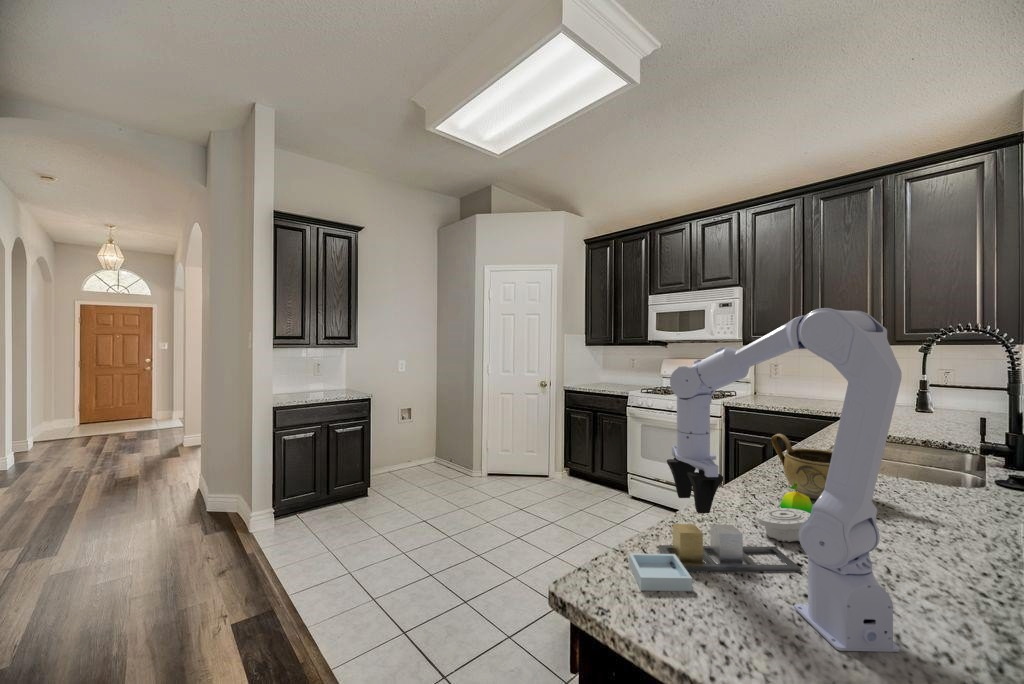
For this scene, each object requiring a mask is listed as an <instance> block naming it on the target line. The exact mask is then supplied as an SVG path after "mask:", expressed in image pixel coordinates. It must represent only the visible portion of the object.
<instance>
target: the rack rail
mask: <svg viewBox="0 0 1024 684" xmlns="http://www.w3.org/2000/svg"><path fill="white" fill-rule="evenodd" d="M658 552H659V554H673V544H669V545H667V544H663V545H662V544H658ZM747 554H773V555H774V556H775V555H776V556H775V557H777V559H779V560H780V559H781V560H782V562H783V563H784V564H757V563H756V562H755V561H754V560H753V559H752V558H751V557H749V555H747ZM781 560H780V561H781ZM704 561H705V562H706V563H705V562H704ZM703 562H704V563H703V564H693V563H682V565H683V566H684V567H685V569H686V570H687V572H688V573H702V572H701V571H705V573H735V572H736V573H737V572H738V573H745V572H747V573H749V572H750V573H751V572H752V573H758V572H760V573H764V571H801V572H802V568H801V567H800V566H799V565H798V564H797V563H795V562H794V561H793V560H792V559H791V558H789V557H788V556H787V555H786V554H784V553H783V552H782V551H780V550H779V549H778V548H777V547H776V546H747V545H746V546H743V562H744V564H717V563H716V561H715V560H714V559H713V558H712V557H711V556H710V545H703ZM785 563H786V564H787V565H786V564H785ZM670 565H671V566H672V568H676V566H675V564H674V563H673V562H670ZM697 571H698V572H697ZM706 571H707V572H706ZM709 571H710V572H709Z"/></svg>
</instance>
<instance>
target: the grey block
mask: <svg viewBox="0 0 1024 684" xmlns="http://www.w3.org/2000/svg"><path fill="white" fill-rule="evenodd" d="M709 529H710V534H709V535H710V536H709V537H710V539H709V540H710V542H709V543H710V544H709V546H710V553H709V556H710V557H711V558H712V559H713V560H714V561H715V563H716V562H717V563H718V564H743V542H744V540H743V537H744V536H743V533H742V532H741V531H740V530H739V529H738V528H736V527H735V525H733V524H721V523H720V524H714V523H713V524H710V528H709ZM717 563H716V564H717Z"/></svg>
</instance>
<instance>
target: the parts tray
mask: <svg viewBox="0 0 1024 684" xmlns="http://www.w3.org/2000/svg"><path fill="white" fill-rule="evenodd" d="M670 562H673V563H674V564H675V566H676V568H672V566H671V565H670ZM628 565H629V569H630V570H631V572H632V575H633V577H634V579H635V581H636V583H637V585H638V588H639V589H640V591H641V592H642V591H644V592H645V591H651V592H653V591H654V592H692V591H693V577H692V576H691V575H690V572H687V570H686V569H685V567H684V566H683V565H682V563H681V562H680V560H679V559H678V558H677V556H676V555H675V554H673V553H670V554H661V553H628Z"/></svg>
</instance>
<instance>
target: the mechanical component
mask: <svg viewBox="0 0 1024 684" xmlns="http://www.w3.org/2000/svg"><path fill="white" fill-rule="evenodd" d="M755 515H756V522H758V524H759V525H762V526H764V527H765V532H766V533H765V534H766V535H767V536H768V537H769V538H770V539H775V540H777V541H778V542H780V541H781V542H783V543H784V542H787V543H790V542H800V541H799V529H800V526H801V525H802V523H803V522H805V521H806V520H807V519H808V518H809V516H810V513H808V512H806V511H802V510H798V509H789V508H781V507H780V508H779V507H777V508H776V507H775V508H768V509H763V510H760V511H758V512H757V513H756V514H755Z"/></svg>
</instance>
